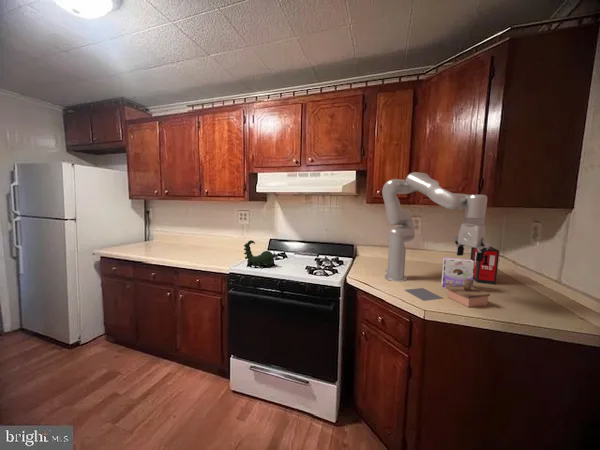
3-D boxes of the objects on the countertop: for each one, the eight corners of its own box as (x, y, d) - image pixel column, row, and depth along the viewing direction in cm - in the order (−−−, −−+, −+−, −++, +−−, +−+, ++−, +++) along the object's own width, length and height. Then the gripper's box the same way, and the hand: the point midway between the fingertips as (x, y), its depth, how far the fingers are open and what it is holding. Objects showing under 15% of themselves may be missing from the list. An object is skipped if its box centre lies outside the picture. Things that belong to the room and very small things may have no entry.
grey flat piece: (403, 290, 127) (403, 289, 127) (422, 289, 130) (422, 288, 130) (423, 301, 114) (423, 300, 114) (444, 299, 117) (444, 298, 117)
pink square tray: (447, 298, 118) (448, 288, 118) (465, 296, 121) (466, 287, 120) (468, 308, 107) (469, 297, 107) (487, 306, 110) (488, 295, 110)
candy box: (469, 288, 132) (472, 259, 130) (472, 292, 127) (475, 261, 125) (440, 284, 138) (443, 256, 136) (442, 288, 132) (444, 258, 131)
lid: (446, 288, 118) (447, 276, 117) (465, 286, 121) (466, 275, 120) (468, 298, 106) (470, 285, 106) (489, 296, 109) (491, 283, 109)
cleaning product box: (495, 284, 139) (499, 250, 137) (477, 282, 142) (480, 249, 140) (485, 276, 154) (488, 245, 152) (469, 274, 158) (471, 244, 155)
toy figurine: (243, 267, 171) (274, 268, 162) (240, 241, 170) (272, 241, 161) (250, 264, 180) (280, 265, 171) (248, 239, 179) (278, 238, 170)
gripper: (451, 219, 117) (447, 253, 120) (486, 224, 101) (480, 264, 103) (463, 219, 119) (459, 253, 122) (499, 224, 103) (494, 263, 105)
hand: (469, 258), depth 112 cm, fingers open, 9 cm apart
